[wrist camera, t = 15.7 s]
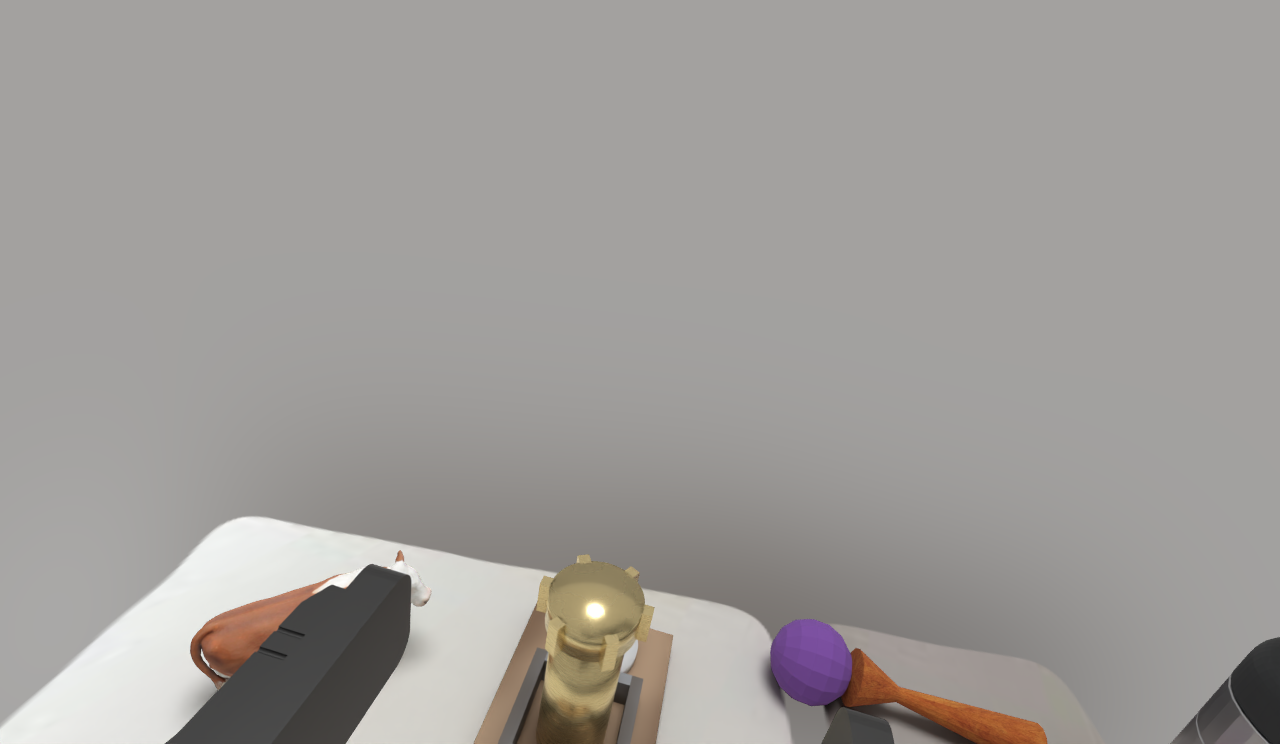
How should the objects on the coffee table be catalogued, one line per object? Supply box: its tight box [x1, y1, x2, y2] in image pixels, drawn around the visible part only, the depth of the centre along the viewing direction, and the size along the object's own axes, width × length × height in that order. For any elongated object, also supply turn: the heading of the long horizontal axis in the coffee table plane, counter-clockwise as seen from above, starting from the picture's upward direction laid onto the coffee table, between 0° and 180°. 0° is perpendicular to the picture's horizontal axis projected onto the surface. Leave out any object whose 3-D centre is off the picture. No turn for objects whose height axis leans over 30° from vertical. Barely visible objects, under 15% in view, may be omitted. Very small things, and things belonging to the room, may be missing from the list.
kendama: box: [770, 619, 1047, 744], centre depth 46 cm, size 6×6×20 cm
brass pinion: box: [536, 555, 655, 744], centre depth 37 cm, size 6×6×12 cm
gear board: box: [474, 601, 673, 744], centre depth 39 cm, size 11×20×4 cm, turn 170°
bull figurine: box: [190, 550, 431, 690], centre depth 40 cm, size 4×13×8 cm, turn 121°
